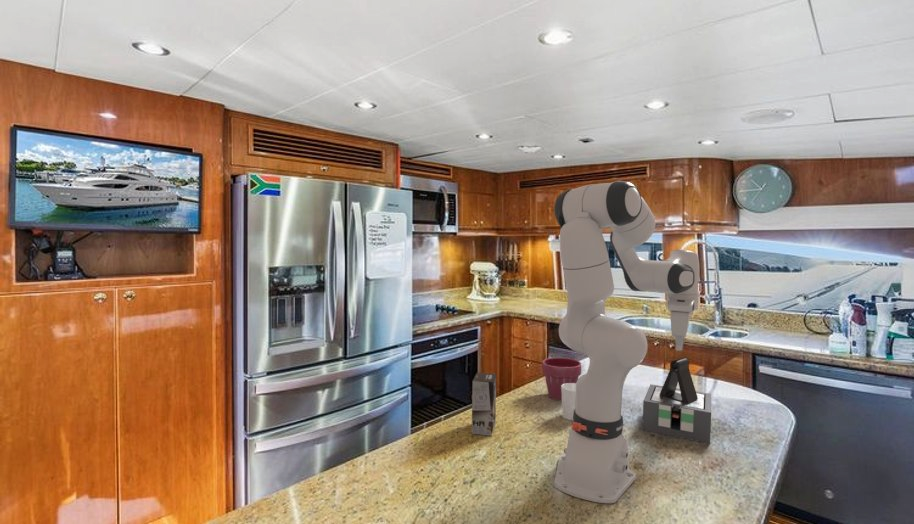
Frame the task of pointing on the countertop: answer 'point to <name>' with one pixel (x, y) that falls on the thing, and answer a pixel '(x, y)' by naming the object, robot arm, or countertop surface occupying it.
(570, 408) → the white cup
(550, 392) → the plant pot
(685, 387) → the phone stand
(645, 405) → the scale housing
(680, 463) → the countertop surface
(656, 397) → the pan
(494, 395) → the coffee box
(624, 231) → the robot arm
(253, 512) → the countertop surface
